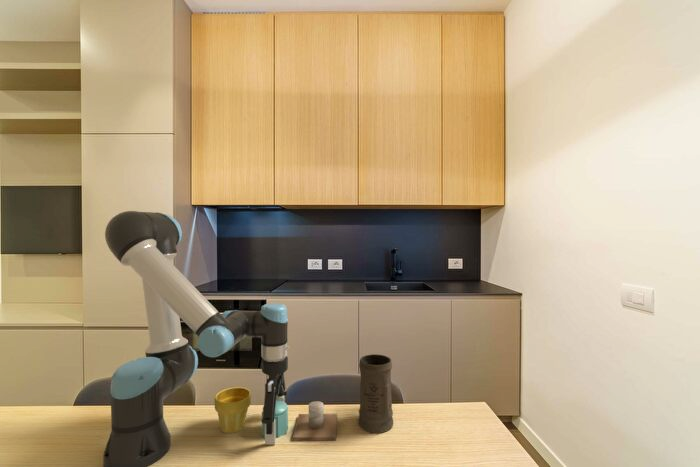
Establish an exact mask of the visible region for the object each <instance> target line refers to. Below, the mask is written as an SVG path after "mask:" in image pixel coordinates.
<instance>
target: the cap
mask: <svg viewBox="0 0 700 467" xmlns="http://www.w3.org/2000/svg"><path fill="white" fill-rule="evenodd" d="M263 412H264V405H263V406H262V411H261V420H262V419H263ZM274 419H275V439H276V438H280V437H281V436H284V435H286V434H287V432H288V429H289V407H288V404H287V403H286V401H284V402H283V401H276V408H275V416H274ZM261 434H262V435H263V436H264V437H265V424H263V422H262V421H261Z"/></svg>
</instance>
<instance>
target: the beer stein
mask: <svg viewBox="0 0 700 467" xmlns="http://www.w3.org/2000/svg"><path fill="white" fill-rule="evenodd" d="M358 365H359V366H358V367H359V374H360V384H359V385H360V386H359V393H360V396H359V397H360V398H359V399H360V400H359V401H360V402H359V403H360V404H359V410H358V414H359V415H358V418H357V419H358V421H357V422H358V426H359V427H360V428H361V429H362V430H364V431H366V432H368V433H373V434H374V433H377V434H379V433H386V432H388V431H390V430H391V429H392V428H393V426H394V418H393V414H394V411H393V404H392V376H391V375H392V368H393V364H392V359H391V358H390V357H389V356H386V355H383V354H378V353H377V354H373V353H372V354H368V355H367V354H366V355H363V356H361V357H360V359H359V364H358Z"/></svg>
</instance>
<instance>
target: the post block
mask: <svg viewBox="0 0 700 467" xmlns="http://www.w3.org/2000/svg"><path fill="white" fill-rule="evenodd" d="M337 422H338V413H324V403H323V402H322V401H319V400H317V401H315V400H314V401H311V402H309V403H308V413H298V416H297V419H296V424H295V428H294V431H293V435H292V441H293V442H300V441H301V442H304V441H305V442H307V441H308V442H311V441H313V442H317V441H319V442H321V441H324V442H326V441H330V442H333V441H334V442H335V441H336V438H337V425H338V423H337Z"/></svg>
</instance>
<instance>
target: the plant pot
mask: <svg viewBox="0 0 700 467" xmlns="http://www.w3.org/2000/svg"><path fill="white" fill-rule="evenodd" d="M251 400H252V392H251V390H250V389H249V388H246V387H244V386H235V387H228V388H225V389H222V390H221V391H218V392H217V393H216V394H215V396H214V410H215V412H217V417H218V421H219V422H218V423H219V425H220V430H221V432H224V433H225V434H233V433H234V434H235V433H237V432H239V431H241V430H242V429H243V428H244V427H245V422H246V418H247V413H248V409H249V407H250V406H251V403H252V401H251Z"/></svg>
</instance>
